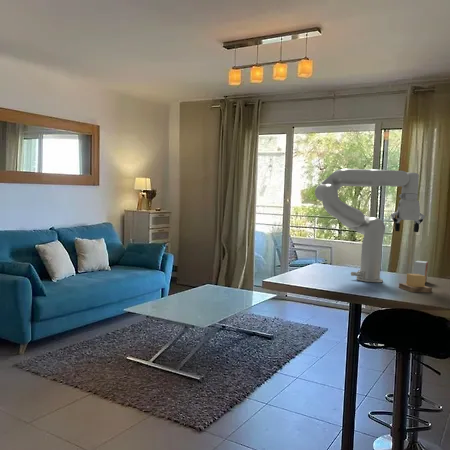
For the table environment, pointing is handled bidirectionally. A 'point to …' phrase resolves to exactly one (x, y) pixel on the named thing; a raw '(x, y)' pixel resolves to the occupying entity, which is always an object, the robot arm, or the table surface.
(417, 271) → the small box
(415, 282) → the cap
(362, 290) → the table surface
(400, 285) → the post plinth
